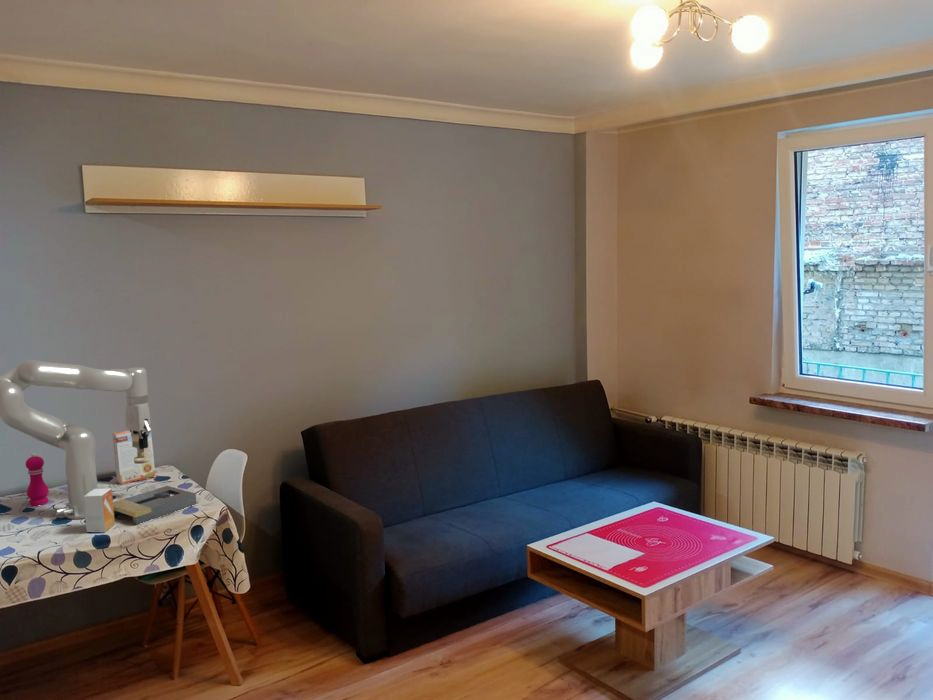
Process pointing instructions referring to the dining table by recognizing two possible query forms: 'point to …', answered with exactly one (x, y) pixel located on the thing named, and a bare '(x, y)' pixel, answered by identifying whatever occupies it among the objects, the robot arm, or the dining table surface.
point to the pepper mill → (36, 481)
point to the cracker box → (131, 458)
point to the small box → (99, 510)
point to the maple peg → (138, 450)
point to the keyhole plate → (154, 503)
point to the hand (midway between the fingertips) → (140, 446)
